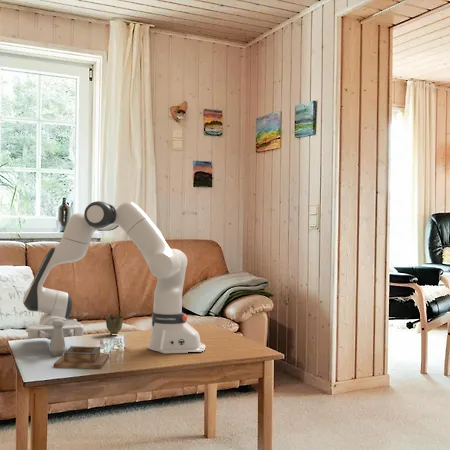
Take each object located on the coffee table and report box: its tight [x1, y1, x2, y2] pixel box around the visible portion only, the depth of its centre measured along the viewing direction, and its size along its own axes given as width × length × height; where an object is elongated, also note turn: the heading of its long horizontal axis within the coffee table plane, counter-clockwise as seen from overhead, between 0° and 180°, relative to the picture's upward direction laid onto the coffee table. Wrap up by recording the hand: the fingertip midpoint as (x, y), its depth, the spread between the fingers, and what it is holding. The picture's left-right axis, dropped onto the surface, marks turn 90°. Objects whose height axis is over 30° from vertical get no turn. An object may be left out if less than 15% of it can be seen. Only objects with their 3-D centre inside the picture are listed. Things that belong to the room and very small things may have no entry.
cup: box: [105, 315, 124, 336], centre depth 252 cm, size 8×7×8 cm
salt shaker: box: [48, 319, 66, 357], centre depth 214 cm, size 6×6×13 cm
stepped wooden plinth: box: [53, 345, 110, 370], centre depth 205 cm, size 16×16×4 cm
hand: (58, 335), depth 213 cm, fingers open, 7 cm apart
